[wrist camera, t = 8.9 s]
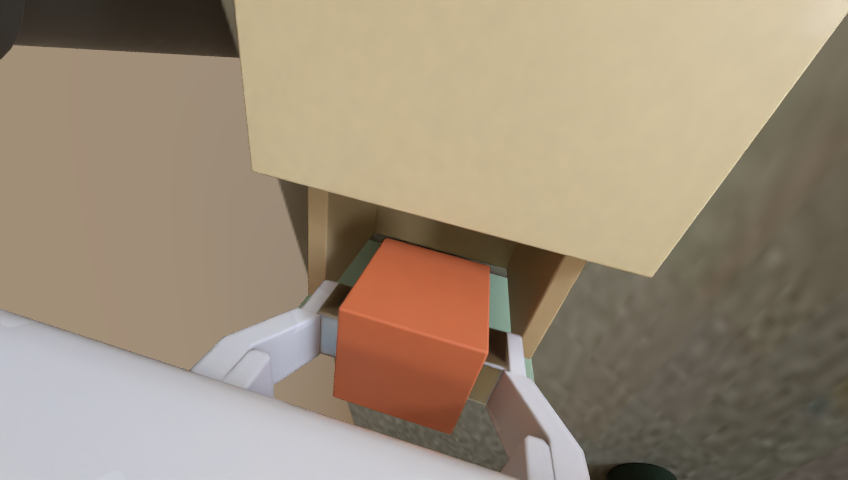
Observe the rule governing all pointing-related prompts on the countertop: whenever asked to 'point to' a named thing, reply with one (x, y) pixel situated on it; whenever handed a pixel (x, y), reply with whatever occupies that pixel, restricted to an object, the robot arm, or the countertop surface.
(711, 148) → the cabinet
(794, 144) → the countertop surface
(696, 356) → the countertop surface
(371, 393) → the block
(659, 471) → the wine bottle
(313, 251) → the drawer
